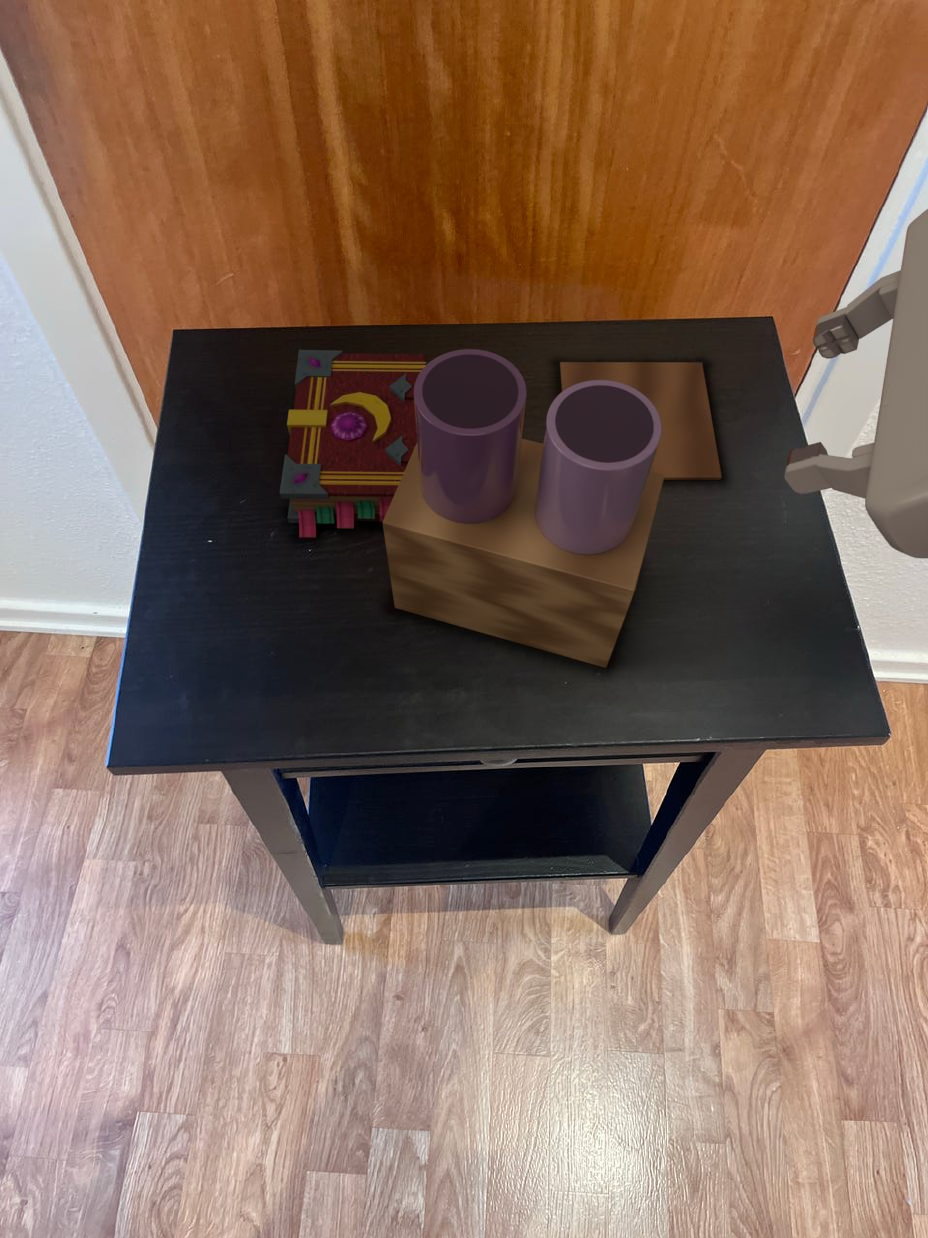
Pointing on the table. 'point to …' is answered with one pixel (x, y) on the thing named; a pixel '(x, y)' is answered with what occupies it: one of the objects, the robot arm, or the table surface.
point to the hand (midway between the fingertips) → (805, 403)
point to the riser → (514, 569)
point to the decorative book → (348, 436)
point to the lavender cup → (595, 465)
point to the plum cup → (469, 434)
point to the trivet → (665, 411)
